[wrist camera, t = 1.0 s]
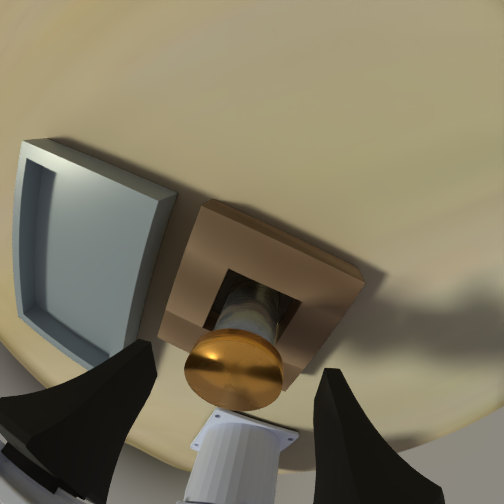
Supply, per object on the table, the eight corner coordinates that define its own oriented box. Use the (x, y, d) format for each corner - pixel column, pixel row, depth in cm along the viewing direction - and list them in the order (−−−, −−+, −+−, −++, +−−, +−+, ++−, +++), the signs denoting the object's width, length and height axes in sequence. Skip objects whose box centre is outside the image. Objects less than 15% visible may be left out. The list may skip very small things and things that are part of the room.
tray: (130, 369, 21) (117, 388, 19) (34, 304, 21) (18, 316, 18) (177, 193, 15) (158, 200, 13) (46, 138, 15) (22, 140, 13)
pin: (270, 334, 18) (256, 420, 11) (213, 309, 18) (174, 388, 11) (299, 285, 16) (301, 368, 10) (236, 256, 16) (200, 327, 10)
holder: (286, 371, 19) (285, 391, 17) (168, 320, 18) (157, 337, 17) (357, 267, 15) (365, 282, 13) (212, 198, 15) (201, 205, 13)
